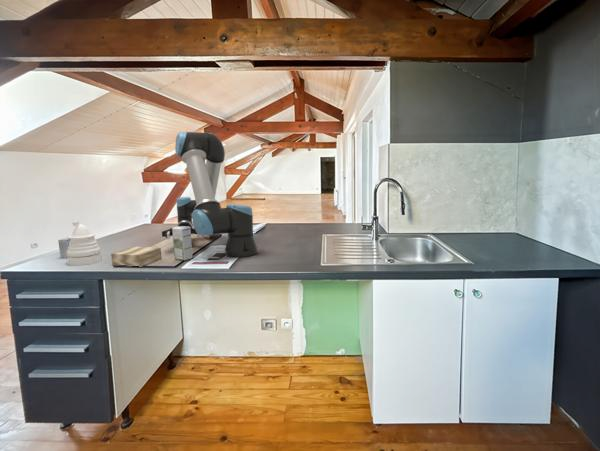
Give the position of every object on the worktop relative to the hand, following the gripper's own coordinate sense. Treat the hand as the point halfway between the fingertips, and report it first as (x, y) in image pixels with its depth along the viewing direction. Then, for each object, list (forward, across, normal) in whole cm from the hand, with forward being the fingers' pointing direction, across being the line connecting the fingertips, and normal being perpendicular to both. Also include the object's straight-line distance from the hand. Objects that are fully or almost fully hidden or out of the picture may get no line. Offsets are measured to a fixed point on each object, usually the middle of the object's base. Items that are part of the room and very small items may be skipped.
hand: (183, 235), depth 168 cm
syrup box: (+10, 0, -9) cm, 13 cm away
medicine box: (-13, +52, -9) cm, 54 cm away
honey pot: (+1, +42, -9) cm, 43 cm away
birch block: (+9, +19, -9) cm, 23 cm away
